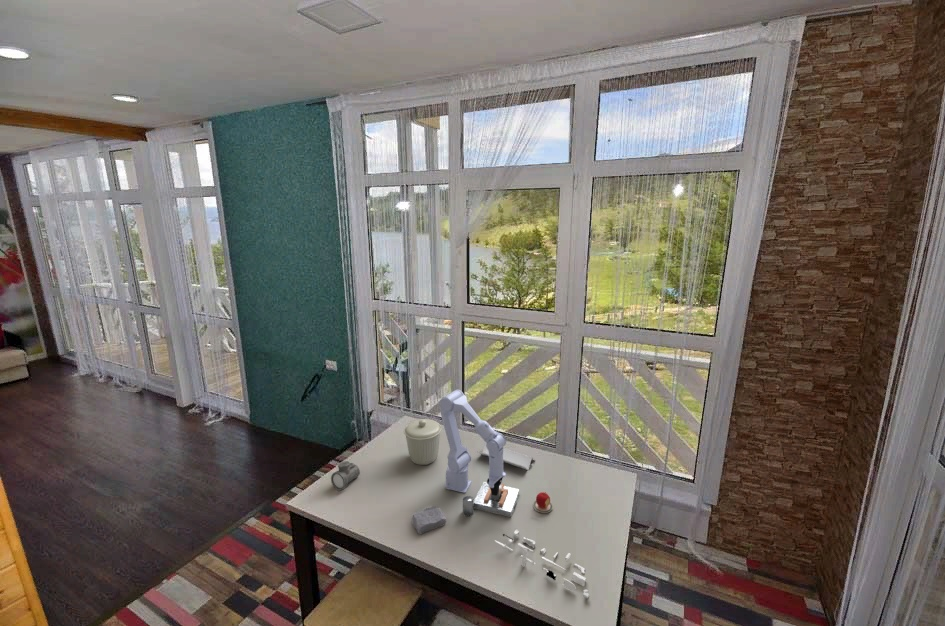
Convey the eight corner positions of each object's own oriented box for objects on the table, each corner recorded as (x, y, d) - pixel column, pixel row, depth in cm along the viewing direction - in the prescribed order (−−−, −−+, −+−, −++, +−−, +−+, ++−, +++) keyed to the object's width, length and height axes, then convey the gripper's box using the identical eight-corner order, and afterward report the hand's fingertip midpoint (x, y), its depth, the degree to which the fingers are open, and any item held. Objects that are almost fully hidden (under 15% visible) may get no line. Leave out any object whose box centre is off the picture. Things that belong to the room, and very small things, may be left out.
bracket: (483, 501, 167) (483, 499, 167) (492, 483, 178) (492, 481, 178) (502, 506, 165) (502, 503, 165) (510, 487, 176) (510, 485, 176)
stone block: (410, 523, 162) (419, 536, 153) (409, 512, 162) (418, 524, 153) (437, 514, 168) (447, 526, 159) (436, 503, 167) (446, 514, 158)
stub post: (461, 514, 164) (461, 502, 162) (465, 507, 168) (464, 494, 166) (471, 517, 162) (471, 504, 161) (475, 509, 166) (475, 497, 165)
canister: (397, 461, 198) (395, 422, 193) (422, 444, 213) (420, 407, 207) (425, 475, 188) (424, 434, 183) (449, 455, 203) (448, 417, 197)
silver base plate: (473, 507, 168) (473, 502, 167) (483, 486, 180) (483, 481, 180) (510, 517, 162) (511, 511, 162) (519, 494, 175) (519, 489, 175)
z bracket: (485, 457, 208) (490, 445, 211) (531, 473, 196) (535, 460, 198) (477, 451, 199) (481, 438, 201) (524, 467, 187) (528, 453, 189)
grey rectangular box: (491, 499, 169) (491, 482, 167) (493, 493, 172) (493, 477, 170) (499, 500, 168) (499, 484, 166) (501, 495, 171) (501, 478, 169)
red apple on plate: (553, 501, 171) (554, 488, 169) (551, 515, 163) (552, 501, 162) (534, 498, 173) (534, 485, 171) (531, 511, 165) (532, 498, 164)
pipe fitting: (344, 492, 176) (342, 470, 175) (330, 488, 180) (329, 466, 179) (363, 479, 187) (362, 458, 186) (350, 475, 191) (349, 455, 189)
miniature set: (491, 549, 146) (507, 532, 156) (585, 606, 128) (597, 582, 138) (493, 534, 145) (509, 517, 155) (589, 588, 127) (600, 565, 137)
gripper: (500, 475, 158) (500, 505, 161) (510, 454, 171) (509, 482, 174) (483, 472, 160) (483, 501, 163) (494, 451, 173) (493, 479, 177)
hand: (496, 491), depth 169 cm, fingers closed on grey rectangular box, 3 cm apart
